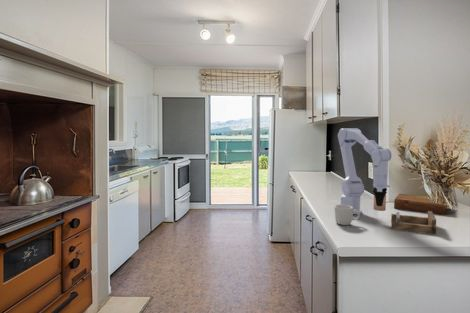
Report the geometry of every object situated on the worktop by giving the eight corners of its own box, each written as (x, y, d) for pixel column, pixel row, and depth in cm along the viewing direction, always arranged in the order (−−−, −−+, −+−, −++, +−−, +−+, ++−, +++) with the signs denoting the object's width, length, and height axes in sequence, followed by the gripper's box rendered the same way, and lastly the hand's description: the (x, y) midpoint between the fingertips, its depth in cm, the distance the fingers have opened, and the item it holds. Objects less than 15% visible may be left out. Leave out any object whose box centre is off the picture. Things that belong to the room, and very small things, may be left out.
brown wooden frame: (391, 228, 129) (391, 215, 128) (391, 219, 142) (391, 207, 142) (435, 234, 122) (436, 220, 121) (431, 224, 135) (431, 211, 134)
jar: (373, 210, 136) (373, 193, 136) (373, 207, 141) (374, 191, 140) (385, 211, 134) (386, 194, 133) (385, 208, 138) (386, 192, 138)
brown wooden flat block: (394, 209, 164) (394, 199, 163) (398, 203, 179) (399, 193, 178) (445, 216, 150) (445, 204, 150) (445, 208, 165) (446, 198, 165)
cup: (358, 222, 138) (359, 205, 137) (360, 228, 130) (360, 209, 130) (334, 220, 141) (334, 204, 141) (333, 225, 134) (334, 208, 133)
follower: (396, 227, 130) (396, 218, 129) (396, 220, 139) (396, 212, 139) (399, 227, 129) (399, 218, 129) (399, 220, 139) (399, 212, 139)
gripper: (390, 178, 128) (389, 209, 129) (390, 173, 141) (389, 202, 142) (372, 177, 131) (371, 207, 132) (374, 173, 144) (373, 200, 145)
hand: (379, 204), depth 137 cm, fingers closed on jar, 5 cm apart
